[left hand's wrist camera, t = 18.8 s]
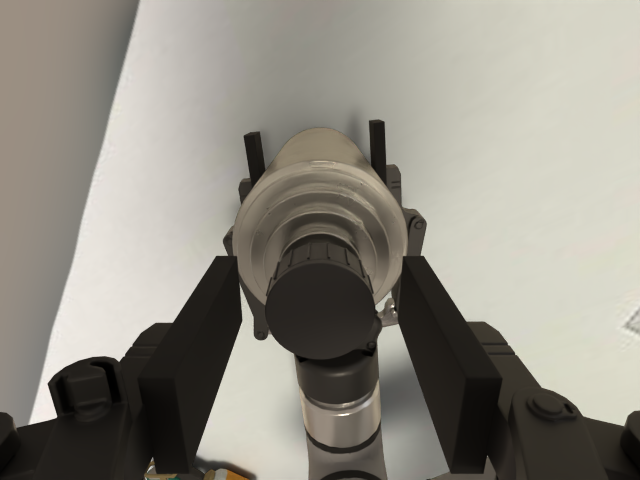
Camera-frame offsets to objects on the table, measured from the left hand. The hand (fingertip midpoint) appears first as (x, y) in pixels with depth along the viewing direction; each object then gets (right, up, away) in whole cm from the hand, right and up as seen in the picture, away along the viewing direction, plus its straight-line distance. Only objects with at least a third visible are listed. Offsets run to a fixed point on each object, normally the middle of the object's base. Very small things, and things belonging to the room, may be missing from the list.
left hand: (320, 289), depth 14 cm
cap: (0, 0, -1) cm, 1 cm away
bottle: (0, +8, +22) cm, 23 cm away
